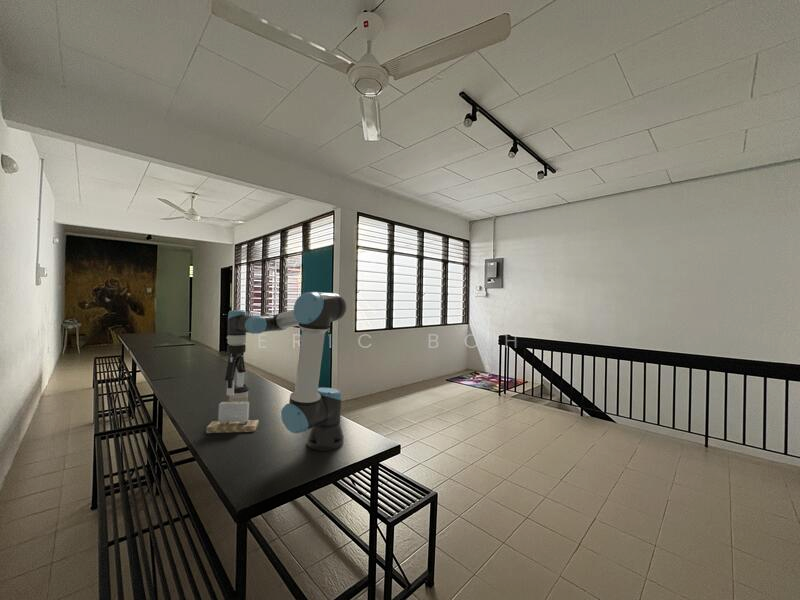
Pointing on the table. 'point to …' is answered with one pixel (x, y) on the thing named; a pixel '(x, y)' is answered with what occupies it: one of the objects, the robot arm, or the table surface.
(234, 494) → the table surface
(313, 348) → the robot arm
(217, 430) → the wooden ladder frame
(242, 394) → the coffee cup
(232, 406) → the grey flat block
